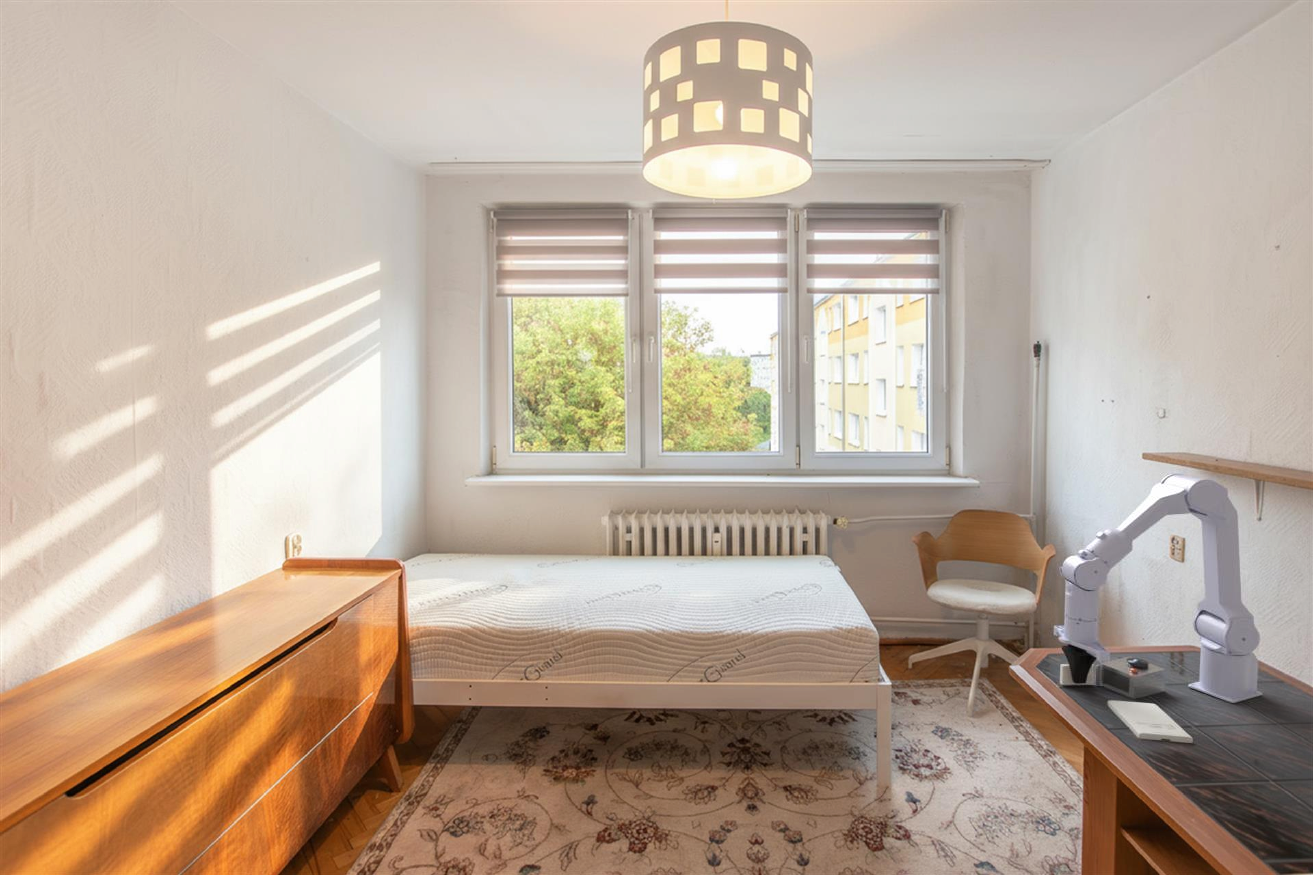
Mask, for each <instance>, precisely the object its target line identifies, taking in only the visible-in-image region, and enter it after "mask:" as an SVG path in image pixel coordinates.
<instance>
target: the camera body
mask: <svg viewBox="0 0 1313 875" xmlns="http://www.w3.org/2000/svg"><path fill="white" fill-rule="evenodd" d="M1099 665H1100V666H1101V672H1100V686H1101V687H1103V686H1104V688H1106V689H1108V690H1111V691H1113V692H1115V693H1118V694H1120V695H1122V696H1125V697H1128V698H1130V699H1132V700H1136V699H1141V698H1144V697H1148V696H1152V695H1155V694H1160V693H1164V692H1165V690H1166V689H1165V688H1166V674H1167V672H1166V669H1165V668H1162V667H1159V666H1158V665H1155V664H1152V663H1150V662H1149V661H1147V660H1145V659H1142V658H1138V657H1132V656H1126V657H1121V658H1118V659H1112V660H1110V662H1099Z"/></svg>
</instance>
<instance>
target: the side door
mask: <svg viewBox="0 0 1313 875" xmlns="http://www.w3.org/2000/svg"><path fill="white" fill-rule="evenodd" d="M1059 666H1060V667H1059V668H1060V669H1059V670H1060V671H1059V684H1060V685H1061V686H1081V685H1082V686H1084V685H1090V686H1091V685H1095V686H1101V685H1100V672H1101V666H1100V664H1096V665H1094V663H1093V664H1092V666H1091V668H1090V670H1089V673H1088V676H1087V680H1086V683H1081V684H1075V683H1074V682H1073V680H1072V674H1071V670H1070V666H1069V663H1065V664H1064V663H1061V664H1060V665H1059ZM1094 678H1095V679H1094ZM1094 680H1095V684H1094Z"/></svg>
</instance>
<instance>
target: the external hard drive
mask: <svg viewBox="0 0 1313 875" xmlns="http://www.w3.org/2000/svg"><path fill="white" fill-rule="evenodd" d="M1107 706H1108V708H1109V709H1110V710H1111V711H1112V712H1113V713H1114V715H1116V716H1117V718H1119V719H1120V721H1122V722H1123V723H1124V724H1125V725H1126V726H1127V727H1129V728H1128V729H1129V730H1130V731H1131V732H1132V733H1133V734H1134V735H1135V736H1136V737H1137V738H1138V739H1141V740H1154V741H1167V742H1174V743H1176V742H1177V743H1186V744H1193V740H1194V738H1193V737H1192V736H1191V735H1190V734H1189V733H1187V732H1186V730H1185V729H1183V728H1182V727H1181V726H1180V725H1179V724H1178V723H1177V722H1175V720H1173V718H1171V717H1170V715H1169V714H1167V713H1166V712H1165V711H1164V710H1163V709H1162V708H1160V707H1159V706H1158V705H1157V704H1156V703H1150V702H1140V701H1139V702H1136V701H1125V700H1124V701H1123V700H1108V701H1107ZM1168 740H1169V741H1168Z"/></svg>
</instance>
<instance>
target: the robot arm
mask: <svg viewBox="0 0 1313 875" xmlns="http://www.w3.org/2000/svg"><path fill="white" fill-rule="evenodd" d="M1228 491H1229V490H1228V488H1227V487H1225V486H1224V485H1221V484H1220V483H1219V482H1216V480H1215V481H1214V479H1208V478H1207V479H1206V478H1198V477H1194V476H1189V475H1184V474H1182V473H1171V474H1168V475H1165V477H1163V478H1162V479H1161V480H1160V482H1159V483H1156V484H1155V485H1153V487H1152V489H1151V491H1150V492H1149V493H1150V494H1149V495H1148V496H1147V497H1146V498H1145V499H1144V501H1142V502H1141V504H1140V505H1138V507H1137V508H1136V509H1134V511H1133V512H1132V513H1131V514H1129V515H1128V517H1127V518H1126V519H1124V521H1123V522H1122V523H1121V524H1120V525H1119V526H1118V527H1117V528H1113V529H1105V530H1103V531H1099V532H1097V534H1095V539H1093V541H1091V542H1090V543H1089V544H1087V546H1086V547H1084V548H1083V549H1079V551H1078V552H1077V554H1074V555H1071V556H1068V557H1067V558H1066V559H1065V560H1064V561H1063V563H1062V566H1060V567H1059V573H1060V575H1061V577H1062V578H1063V579H1064V582H1065V584H1064V586H1065V592H1064V624H1063V625H1053V635H1054V636H1056V637H1058V641H1059V642H1061V643H1063V644H1067V645H1062V646H1061V650H1062V653H1064V656H1065V658H1066V661H1067V662H1068V663H1067V664H1069V666H1070V670H1071V674H1072V680H1073V682H1074V683H1075V684H1081V683H1086V680H1087V676H1088V673H1089V670H1090V668H1091V666H1092V664H1093V665H1094V662H1096V661H1098V662H1099V663H1103V662H1110V661H1111V651H1109V650H1108V649H1106V648H1105V646H1104V645H1103V644H1102V643H1101V641H1100V640H1099V638H1098V635H1099V633H1098V632H1099V609H1100V608H1099V607H1100V606H1099V604H1100V602H1099V601H1100V587H1103V586H1104V585H1105V584H1106V582H1107V579H1108V575H1109V573H1110V572H1111V570H1112V569H1113V568H1114V567H1115V566H1117V564H1119V563H1120V562H1121V561H1122V560H1123V559H1124V558H1125V557H1127V556H1128V555H1129V554H1130V553H1131V552H1132V551H1133V541H1135V540H1136V539H1138V538H1139V537H1140V536H1141V535H1143V533H1145V532H1146V531H1148V530H1149V529H1150V528H1151V527H1153V526H1154V525H1156V524H1157V523H1158V522H1160V521H1161V520H1162V519H1163V518H1165V517H1167V516H1169V515H1170V516H1172V515H1185V514H1186V515H1187V514H1191V515H1193V516H1194V517H1196V518H1197V519H1198V520H1200V521H1201V536H1202V539H1201V540H1202V556H1203V559H1202V560H1203V578H1204V579H1203V580H1204V581H1203V582H1204V598H1203V599H1202V600H1199V601H1198V602H1197V606H1196V607H1197V608H1196V614H1195V615H1194V617H1193V620H1192V627H1193V629H1194V631H1195V633H1196V634H1197V635H1198V636H1199V641H1200V657H1199V658H1200V659H1199V662H1200V663H1199V681H1196V682H1191V683H1188V686H1187V687H1188V688H1191V689H1193V690H1196V691H1199V692H1202V693H1204V694H1207V695H1209V696H1212V697H1215V698H1218V699H1221V700H1223V701H1226V702H1228V703H1232V704H1235V703H1238V702H1242V701H1245V700H1249V699H1253V698H1256V697H1260V696H1263V692H1261V691H1260V690H1257V689H1258V688H1257V687H1258V675H1259V674H1258V673H1259V661H1258V658H1257V656H1256V654H1255V653H1254V651H1255V650H1256V649H1257V647H1258V646H1259V644H1260V642H1261V637H1260V636H1261V635H1260V632H1259V631H1258V629H1257V627H1256V625H1255V620H1254V616H1253V614H1252V613H1251V612H1250V610H1248V608H1247V606H1246V605H1244V603H1243V602H1242V588H1241V587H1242V585H1241V584H1242V583H1241V582H1242V581H1241V564H1240V563H1241V560H1240V540H1239V517H1238V516H1239V514H1238V511H1237V508H1236V507H1235V505H1234V504H1233V503H1232V501H1231V499H1230V497H1229V493H1228Z"/></svg>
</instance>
